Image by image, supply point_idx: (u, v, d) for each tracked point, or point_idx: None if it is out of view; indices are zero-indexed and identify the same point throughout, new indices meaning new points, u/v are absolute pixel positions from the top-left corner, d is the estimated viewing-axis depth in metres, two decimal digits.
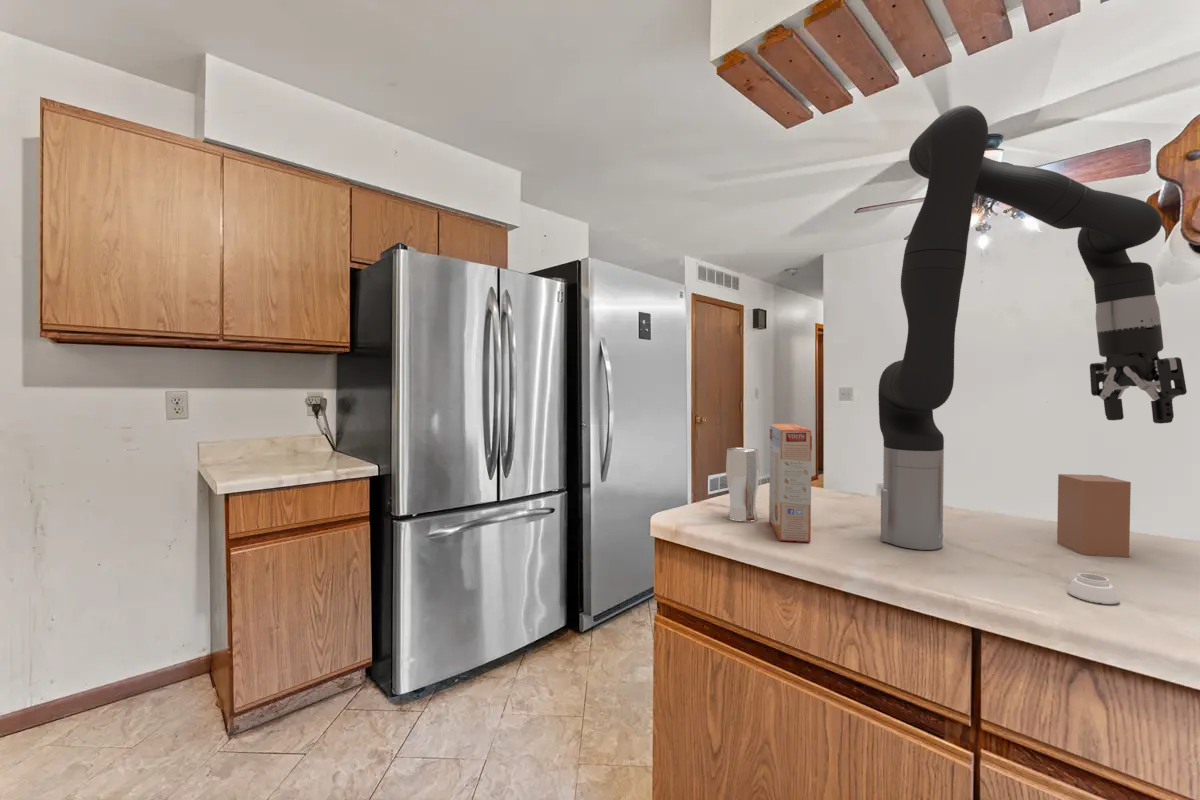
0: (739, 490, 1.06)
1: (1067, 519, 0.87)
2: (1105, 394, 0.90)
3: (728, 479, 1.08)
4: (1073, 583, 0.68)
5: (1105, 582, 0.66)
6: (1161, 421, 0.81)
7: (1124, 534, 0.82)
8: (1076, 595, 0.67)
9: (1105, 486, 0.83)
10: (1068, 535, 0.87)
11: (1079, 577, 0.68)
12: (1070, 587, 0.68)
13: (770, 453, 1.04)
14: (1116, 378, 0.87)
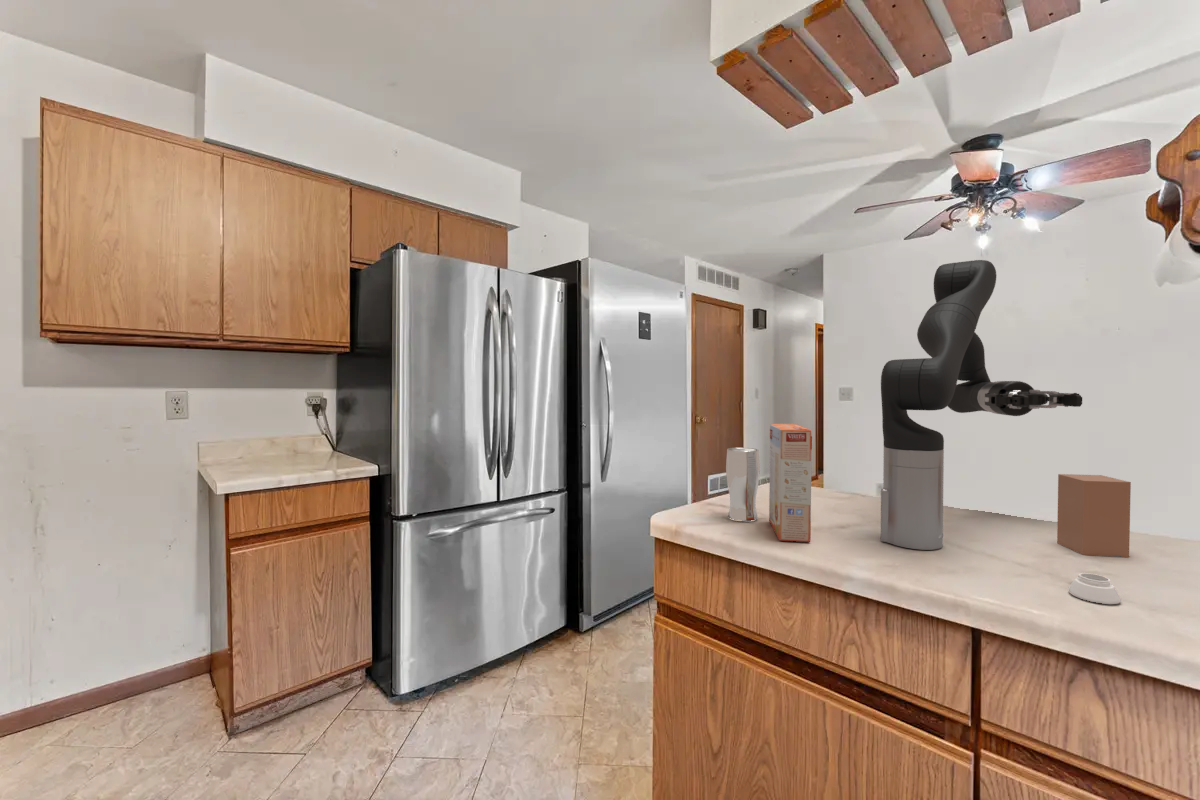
0: (739, 490, 1.06)
1: (1067, 519, 0.87)
2: (1013, 394, 1.02)
3: (728, 479, 1.08)
4: (1074, 583, 0.68)
5: (1106, 582, 0.66)
6: None
7: (1124, 534, 0.82)
8: (1077, 595, 0.67)
9: (1105, 486, 0.83)
10: (1068, 535, 0.87)
11: (1080, 577, 0.68)
12: (1071, 587, 0.68)
13: (770, 453, 1.04)
14: (1020, 393, 1.04)
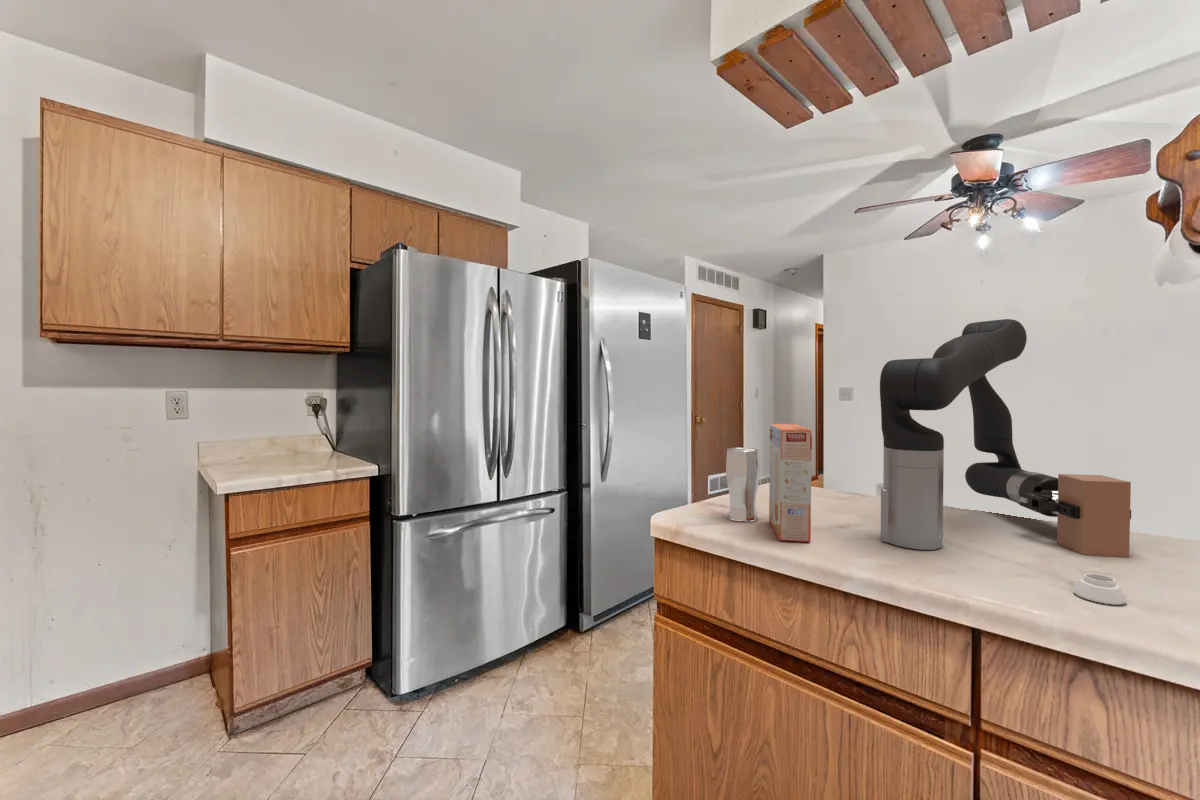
0: (739, 490, 1.06)
1: (1067, 519, 0.87)
2: (1059, 499, 0.89)
3: (728, 479, 1.08)
4: (1079, 583, 0.68)
5: (1112, 583, 0.66)
6: None
7: (1124, 534, 0.82)
8: (1082, 595, 0.67)
9: (1105, 486, 0.83)
10: (1068, 535, 0.87)
11: (1085, 577, 0.68)
12: (1076, 588, 0.68)
13: (770, 453, 1.04)
14: None
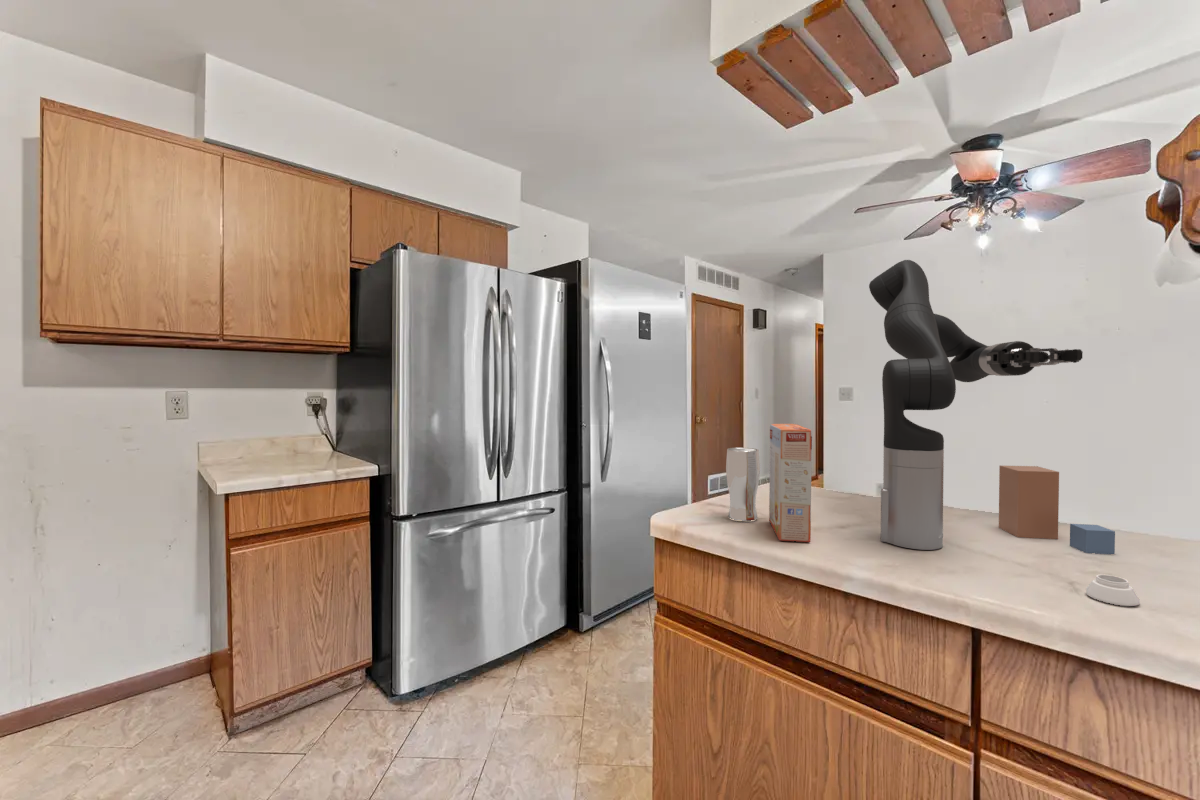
0: (739, 490, 1.06)
1: (1006, 506, 0.97)
2: (1014, 351, 1.04)
3: (728, 479, 1.08)
4: (1091, 584, 0.68)
5: (1124, 584, 0.65)
6: None
7: (1053, 518, 0.92)
8: (1094, 596, 0.67)
9: (1036, 475, 0.93)
10: (1007, 520, 0.97)
11: (1098, 578, 0.67)
12: (1088, 589, 0.68)
13: (770, 453, 1.04)
14: (1021, 351, 1.06)
